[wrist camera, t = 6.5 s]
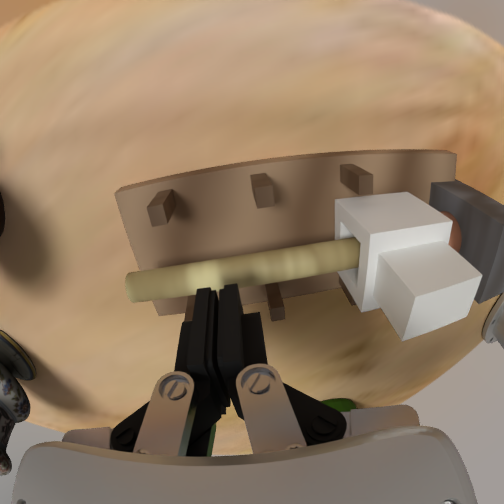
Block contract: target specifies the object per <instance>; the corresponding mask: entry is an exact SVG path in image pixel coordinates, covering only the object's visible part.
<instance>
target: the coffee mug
mask: <svg viewBox="0 0 504 504" xmlns="http://www.w3.org/2000/svg"><path fill="white" fill-rule="evenodd" d="M4 224H5V210H4V204H3V200H2V196H1V193H0V236H1V234H2V232H3V229H4Z"/></svg>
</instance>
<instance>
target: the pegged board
mask: <svg viewBox="0 0 504 504" xmlns="http://www.w3.org/2000/svg"><path fill="white" fill-rule="evenodd" d="M456 159H457V154H455V153H452V152H449V151H447V150H363V151H344V152H329V153H317V154H306V155H296V156H287V157H278V158H270V159H262V160H255V161H248V162H241V163H235V164H229V165H223V166H217V167H211V168H206V169H200V170H195V171H190V172H185V173H180V174H175V175H171V176H166V177H161V178H157V179H153V180H148V181H144V182H140V183H136V184H132V185H128V186H124V187H121V188H120V189H119V190H118V191H116V192H115V193H114V194H115V198H116V201H117V204H118V208H119V211H120V214H121V217H122V221H123V224H124V227H125V230H126V233H127V236H128V239H129V242H130V244H131V247H132V250H133V253H134V256H135V258H136V261H137V264H138V266H139V269H140V271H137V272H131V273H128V274H127V276H126V280H125V287H126V292H127V296H128V298H129V299H130V301H131V302H133V303H135V302H143V301H153V304H154V306H155V308H156V311H157V313H158V315H159V316H164V315H173V314H181V313H185V320H184V321H192V318H193V311H194V304H195V297H196V291H197V289H199V288H207V287H210V288H211V290H216V292H217V295H218V299H219V289H224V285H228V284H235V283H237V284H238V288H239V293H240V298H241V303H242V305H246V304H253V303H259V302H265V301H268V306H269V310H270V315H271V320H272V321H277V320H283V319H285V310H284V304H283V300H282V299H283V298H289V297H295V296H300V295H306V294H311V293H316V292H322V291H327V290H332V289H337V288H342V289H343V291H344V293H345V294H346V296H347V298H348V300H349V302H350V303H351V305H357V304H356V302H355V301H354V299H353V297H352V296H351V294H350V292H349V290H348V289H347V287H346V285H345V284H344V282H343V280H342V279H341V277H340V275H339V274H338V271H343V270H348V269H353V268H358V267H359V258H360V244H361V243H360V242H359V241H358V240H357V239H356V237H352V238H345V239H339V240H335V199H343V198H351V197H360V196H370V195H379V194H389V193H400V192H409V193H410V194H412V195H414V196H415V197H417V198H419V199H420V200H422V201H423V202H425V203H427V204H428V205H430V206H431V207H433V208H434V209H436V210H437V211H439V212H440V213H442V214H443V215H445V216H446V217H448V218H449V219H451V220H452V221H453V223H452V228H451V233H450V239H449V243H448V245H449V246H450V247H452V248H453V249H454V250H455V251H456V252H458V253H459V254H460V255H461V256H462V257H463V258H464V259H466V260H467V261H468V262H469V263H470V264H471V265H472V266H473V267H474V268H476V269H477V270H478V271H479V272H480V273H481V274H482V278H481V281H480V284H479V287H478V289H477V292H476V295H475V297H474V299H475V300H476V302H477V303H478V304H480V303H482V302H484V301H486V300H489V299H491V298H493V297H495V296H497V295H499V294H501V293H503V292H504V205H502V204H500V203H499V202H497V201H495V200H494V199H492V198H490V197H488V196H487V195H485V194H483V193H481V192H479V191H477V190H476V189H474V188H472V187H470V186H468V185H466V184H464V183H462V182H460V181H458V180H456V179H455V173H456Z"/></svg>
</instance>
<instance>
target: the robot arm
mask: <svg viewBox="0 0 504 504" xmlns="http://www.w3.org/2000/svg"><path fill="white" fill-rule="evenodd" d="M482 336H483V339H484V340H485V341H486V342H487V343H493V342H495V341H497V340H498V342H499V343H500V344H501V346H502V347H503V348H504V292H503V294H502V295H501V296H500V298H499V299H498V301H497V302H496V304H495V305H494V307H493V309H492V311H491V312H490V314H489V316H488V318H487V320H486V322H485V325H484V328H483V332H482ZM230 398H231V400H232V403H233V405H234V407H235V410H236V412H237V415H238V416H239V417H240V418H241V419H243V420H244V421H245V424H246V428H247V432H248V435H249V439H250V443H251V447H252V450H253V454H249V455H236V456H215V457H211V455H212V449H213V443H214V438H215V432H216V422H217V421H218V420H219V419H220V418H221V415H222V414H226V407H230ZM11 504H478V503H477V500H476V496H475V493H474V489H473V486H472V483H471V480H470V478H469V475H468V472H467V469H466V467H465V465H464V462H463V460H462V458H461V456H460V454H459V452H458V450H457V449H456V447H455V445H454V444H453V442H452V441H451V440H450V438H449V437H448V436H447V435H446V434H445V433H444V432H443V431H441V430H439V429H437V428H433V427H427V426H420V424H419V417H418V414H417V412H416V411H415V410H414V409H413V408H412V407H410V406H408V405H394V406H386V407H376V408H365V409H351V411H350V412H339V411H338V410H336V409H334V408H332V407H330V406H328V405H326V404H324V403H322V402H320V401H318V400H316V399H314V398H312V397H310V396H308V395H306V394H304V393H302V392H300V391H298V390H296V389H294V388H292V387H291V386H289V385H287V384H285V383H283V382H282V380H281V377H280V375H279V373H278V371H277V370H276V369H275V368H273V367H272V366H270V365H268V363H267V356H266V349H265V342H264V335H263V329H262V322H261V316H260V312H256V313H249V314H244V313H243V308H242V303H241V298H240V293H239V288H238V284H237V283H235V284H228V285H224V289H219V299H218V295H217V292H216V290H211V288H210V287H207V288H199V289H197V291H196V297H195V304H194V311H193V318H192V321H184V322H183V323H182V326H181V332H180V338H179V344H178V350H177V357H176V363H175V370H174V372H170V373H167V374H165V375H164V376H162V377H161V378H160V379H159V380H158V381H157V383H156V385H155V388H154V390H153V393H152V396H151V399H150V401H149V402H148V403H146V404H145V405H144V406H142V407H141V408H140V409H138V410H137V411H136V412H134V413H133V414H131V415H130V416H129V417H127V418H126V419H125V420H123V421H122V422H121V423H119V424H118V425H117V426H116V427H115V428H113V429H111V428H110V427H102V428H92V429H78V430H71V431H68V432H67V433H66V434H65V435H64V437H63V439H62V442H60V441H53V442H44V443H39V444H36V445H34V446H32V447H30V448H29V449H28V450H27V451H26V452H25V454H24V456H23V458H22V460H21V463H20V466H19V468H18V472H17V475H16V480H15V484H14V489H13V494H12V502H11Z"/></svg>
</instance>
